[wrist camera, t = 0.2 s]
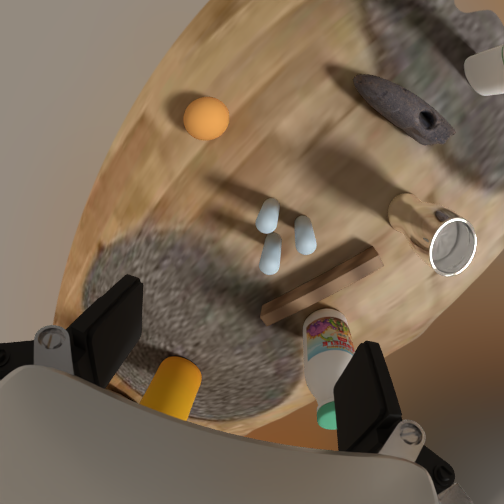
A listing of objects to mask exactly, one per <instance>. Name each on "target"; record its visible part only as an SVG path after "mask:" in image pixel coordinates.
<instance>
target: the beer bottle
mask: <svg viewBox="0 0 504 504" xmlns="http://www.w3.org/2000/svg"><path fill="white" fill-rule="evenodd" d="M201 378H202V377H201V372H200V370H199V369H198V367H197V366H196V365H195V364H194V363H192V362H191V361H189V360H187V359H185V358H182V357H176V356H174V357H168V358H166V359H165V360H164V361H163V362H162V363H161V364H160V366H159V368H158V370H157V372H156V374H155V376H154V378H153V379H152V381H151V383H150V385H149V387H148V389H147V391H146V392H145V394H144V396H143V398H142V400H141V402H140V404H141V405H143V406H146V407H148V408H151V409H153V410H156V411H159V412H161V413H164V414H167V415H170V416H173V417H175V418H178V419H181V420H185V421H186V420H187V418H188V415H189V412H190V410H191V407H192V404H193V402H194V399H195V396H196V393H197V391H198V389H199V386H200V384H201Z"/></svg>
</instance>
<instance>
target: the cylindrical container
mask: <svg viewBox="0 0 504 504" xmlns="http://www.w3.org/2000/svg"><path fill="white" fill-rule="evenodd" d="M464 72H465V75H466V78H467V80H468V82H469V84H470V85H471V87H472V88H473V89H474V90H475V91H476V92H477V93H479V94H481V95H483V96H488V95H496V94H504V45H501V46H498V47H495V48H492V49H489V50H486V51H483V52H480V53H478V54H475V55H472V56H470V57H468V58H467V59H466V60H465V63H464Z"/></svg>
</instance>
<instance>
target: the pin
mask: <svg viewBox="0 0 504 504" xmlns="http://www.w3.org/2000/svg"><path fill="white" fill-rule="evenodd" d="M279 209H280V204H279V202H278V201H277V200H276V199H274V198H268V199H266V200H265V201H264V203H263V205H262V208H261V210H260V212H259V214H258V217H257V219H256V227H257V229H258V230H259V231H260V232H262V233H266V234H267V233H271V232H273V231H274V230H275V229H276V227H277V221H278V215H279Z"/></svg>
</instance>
